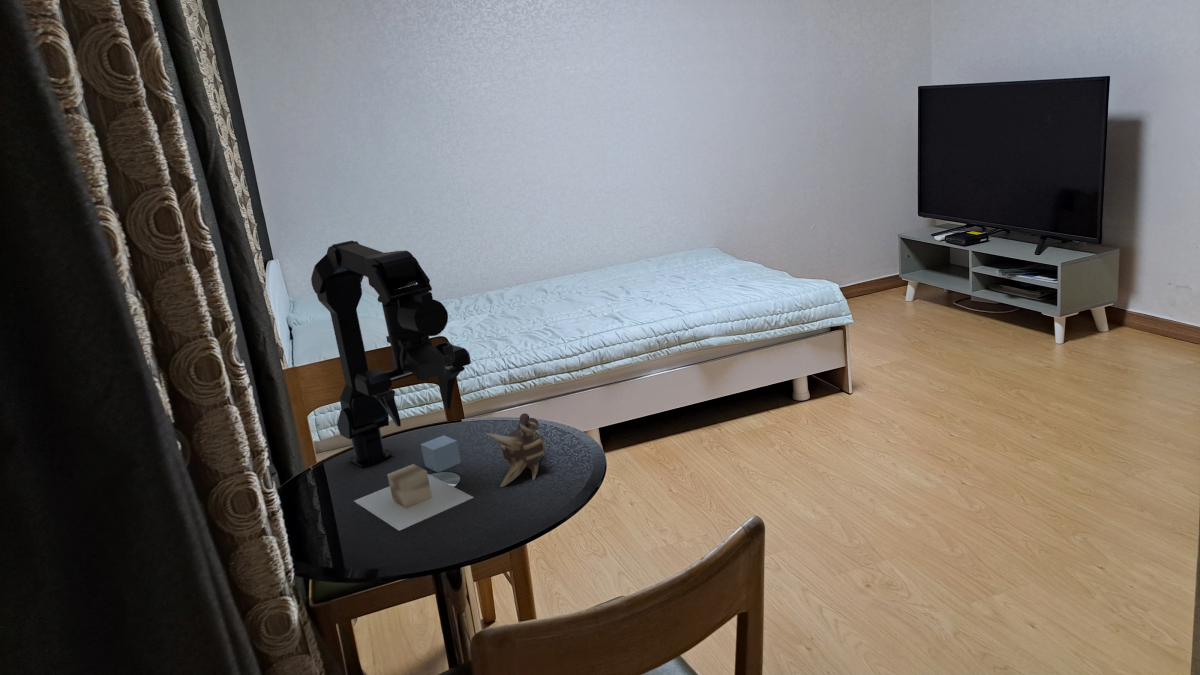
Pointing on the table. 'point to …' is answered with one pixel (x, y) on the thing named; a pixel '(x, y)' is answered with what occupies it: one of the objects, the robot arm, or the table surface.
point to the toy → (521, 448)
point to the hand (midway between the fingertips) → (423, 417)
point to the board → (405, 517)
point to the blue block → (440, 453)
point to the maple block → (409, 486)
